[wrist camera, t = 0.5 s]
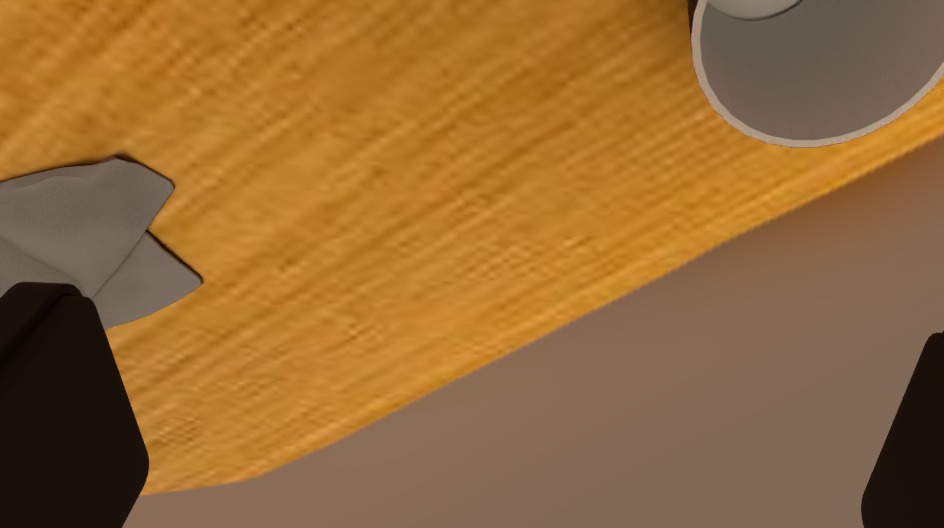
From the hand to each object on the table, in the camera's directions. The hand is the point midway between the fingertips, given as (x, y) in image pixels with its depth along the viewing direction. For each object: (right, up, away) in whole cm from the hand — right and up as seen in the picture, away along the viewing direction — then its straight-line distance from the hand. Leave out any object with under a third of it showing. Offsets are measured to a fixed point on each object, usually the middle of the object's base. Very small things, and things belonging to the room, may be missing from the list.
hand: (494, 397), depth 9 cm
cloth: (-27, 0, +38) cm, 47 cm away
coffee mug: (+12, +16, +24) cm, 31 cm away
